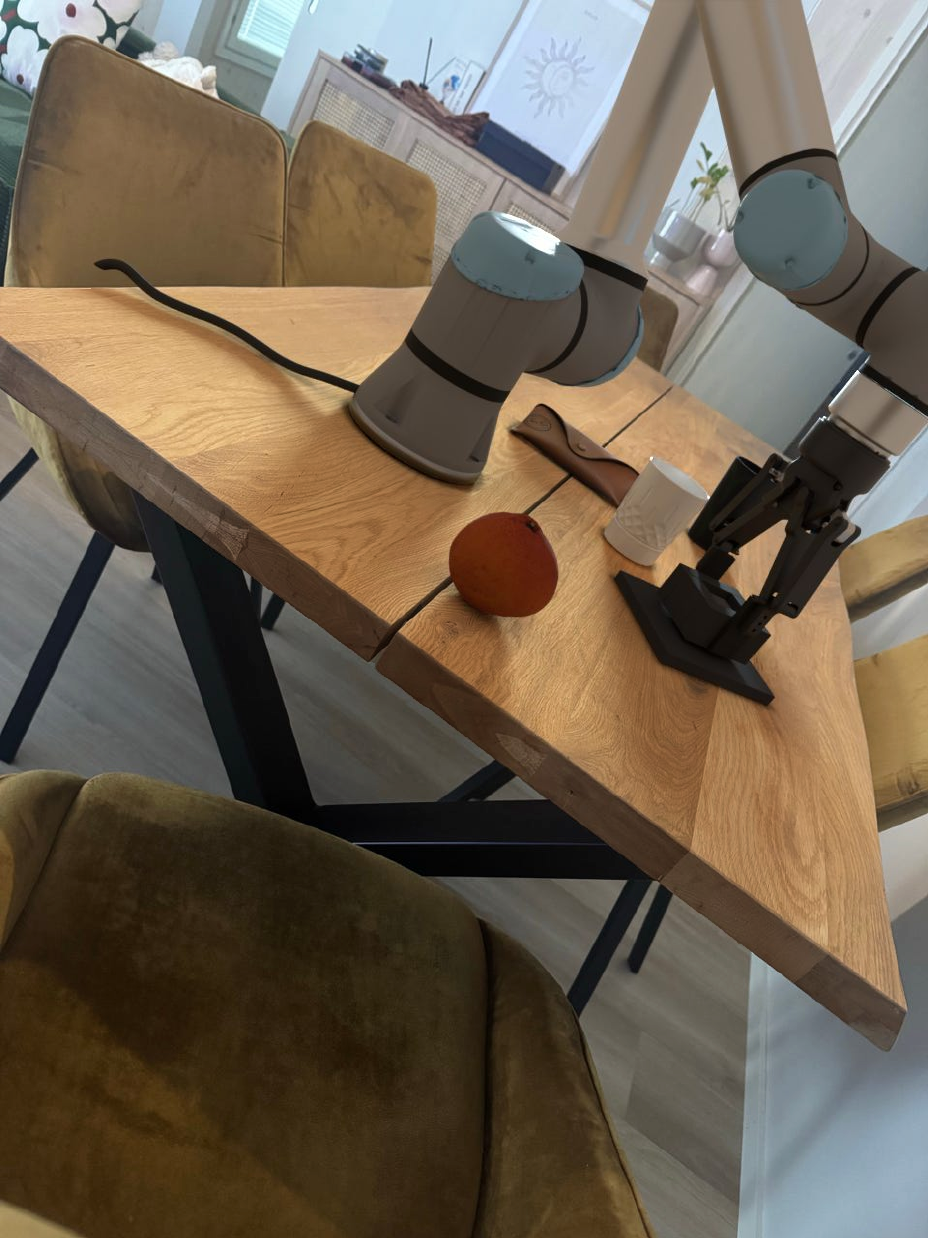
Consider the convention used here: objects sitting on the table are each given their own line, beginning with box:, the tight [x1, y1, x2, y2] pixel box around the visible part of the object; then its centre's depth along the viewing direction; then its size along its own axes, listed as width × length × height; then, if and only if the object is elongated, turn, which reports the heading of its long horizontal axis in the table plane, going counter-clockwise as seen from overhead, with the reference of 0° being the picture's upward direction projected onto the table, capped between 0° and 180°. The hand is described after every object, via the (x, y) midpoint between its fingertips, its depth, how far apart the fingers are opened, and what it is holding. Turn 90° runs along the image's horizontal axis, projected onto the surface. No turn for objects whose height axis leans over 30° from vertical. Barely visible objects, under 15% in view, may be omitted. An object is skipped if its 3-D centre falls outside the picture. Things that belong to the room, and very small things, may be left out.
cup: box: [687, 455, 762, 552], centre depth 123 cm, size 8×8×12 cm
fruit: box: [448, 511, 560, 618], centre depth 71 cm, size 9×9×8 cm
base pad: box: [613, 569, 776, 706], centre depth 91 cm, size 14×14×5 cm
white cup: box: [603, 456, 710, 567], centre depth 103 cm, size 8×8×10 cm
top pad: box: [656, 562, 772, 665], centre depth 90 cm, size 8×8×4 cm
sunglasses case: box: [510, 403, 640, 507], centre depth 119 cm, size 18×7×7 cm
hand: (701, 626), depth 91 cm, fingers closed on top pad, 8 cm apart
